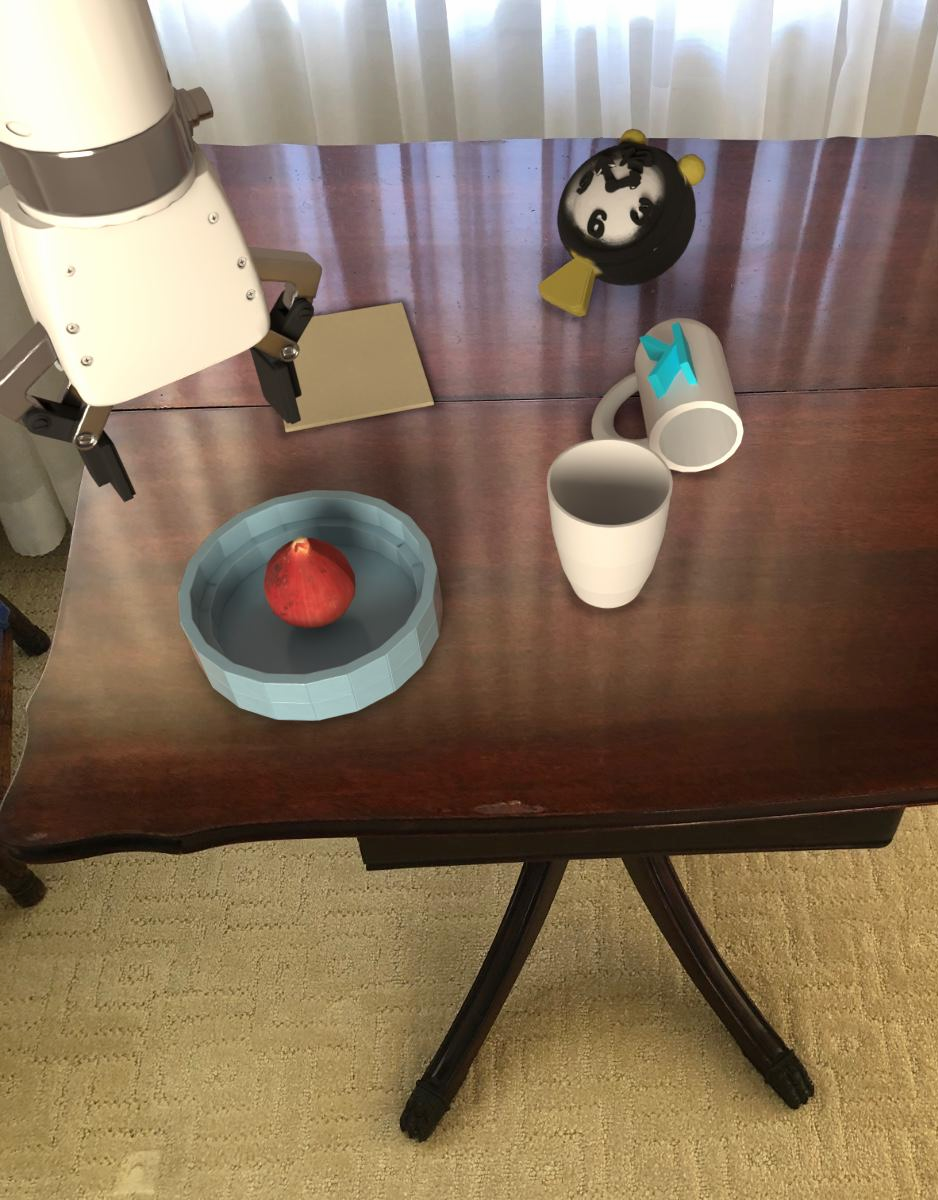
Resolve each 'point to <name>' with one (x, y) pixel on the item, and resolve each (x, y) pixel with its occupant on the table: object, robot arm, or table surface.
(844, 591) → the table surface
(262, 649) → the pan
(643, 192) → the alarm clock
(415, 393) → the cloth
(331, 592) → the onion
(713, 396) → the mug
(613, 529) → the cup
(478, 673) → the table surface
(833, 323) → the table surface
